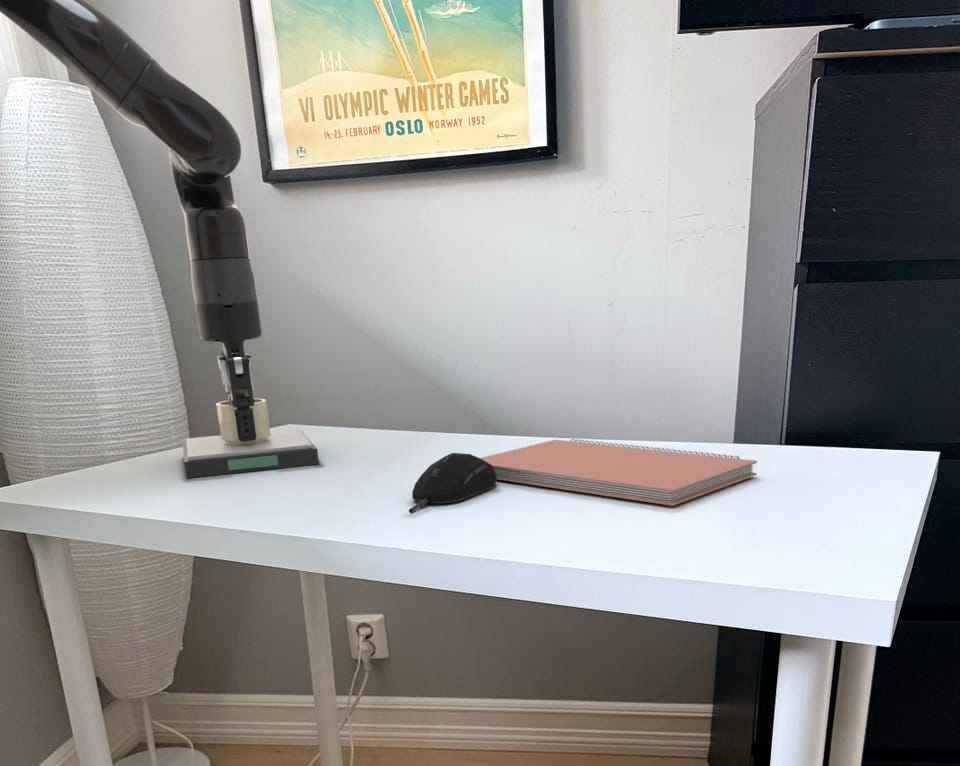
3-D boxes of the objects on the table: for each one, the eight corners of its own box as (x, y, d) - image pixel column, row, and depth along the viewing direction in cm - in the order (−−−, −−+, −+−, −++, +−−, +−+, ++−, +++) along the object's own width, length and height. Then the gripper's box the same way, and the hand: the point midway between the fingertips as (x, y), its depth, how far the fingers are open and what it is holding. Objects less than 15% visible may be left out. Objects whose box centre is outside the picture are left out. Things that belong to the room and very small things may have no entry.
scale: (186, 479, 112) (183, 458, 111) (185, 456, 126) (181, 438, 125) (319, 464, 116) (317, 444, 115) (302, 445, 130) (300, 427, 129)
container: (223, 447, 117) (217, 406, 115) (220, 440, 122) (215, 401, 120) (273, 442, 118) (267, 402, 116) (268, 435, 124) (263, 397, 122)
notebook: (761, 475, 98) (762, 456, 97) (672, 508, 87) (673, 487, 86) (560, 452, 116) (560, 435, 115) (466, 476, 104) (465, 459, 104)
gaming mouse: (383, 510, 92) (379, 470, 90) (457, 479, 104) (455, 443, 102) (438, 515, 89) (435, 473, 87) (507, 482, 101) (506, 445, 99)
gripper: (193, 300, 119) (213, 431, 125) (196, 302, 106) (218, 448, 113) (252, 296, 121) (269, 426, 127) (262, 298, 108) (280, 442, 115)
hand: (245, 436), depth 120 cm, fingers closed on container, 6 cm apart
